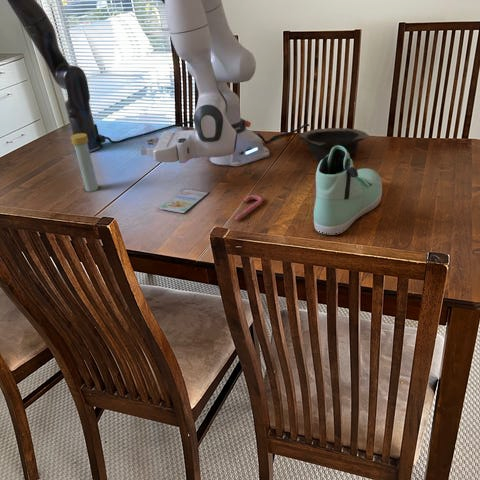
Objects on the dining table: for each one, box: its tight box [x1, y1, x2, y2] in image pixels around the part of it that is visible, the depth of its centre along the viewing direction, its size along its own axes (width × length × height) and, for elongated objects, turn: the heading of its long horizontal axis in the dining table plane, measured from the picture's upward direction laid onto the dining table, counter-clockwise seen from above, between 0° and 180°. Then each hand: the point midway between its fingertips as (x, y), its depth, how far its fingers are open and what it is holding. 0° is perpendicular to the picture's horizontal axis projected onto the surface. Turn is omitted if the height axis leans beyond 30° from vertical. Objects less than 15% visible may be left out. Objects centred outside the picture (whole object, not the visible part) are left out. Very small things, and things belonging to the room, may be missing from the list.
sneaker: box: [313, 146, 383, 236], centre depth 133 cm, size 14×35×20 cm, turn 152°
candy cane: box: [234, 194, 264, 222], centre depth 143 cm, size 6×15×2 cm, turn 145°
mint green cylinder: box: [73, 143, 99, 193], centre depth 159 cm, size 4×4×18 cm
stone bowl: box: [298, 127, 370, 162], centre depth 173 cm, size 25×25×9 cm
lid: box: [70, 133, 88, 146], centre depth 154 cm, size 5×5×2 cm
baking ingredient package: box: [158, 188, 208, 214], centre depth 150 cm, size 9×1×15 cm
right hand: (144, 146), depth 155 cm, fingers open, 8 cm apart
